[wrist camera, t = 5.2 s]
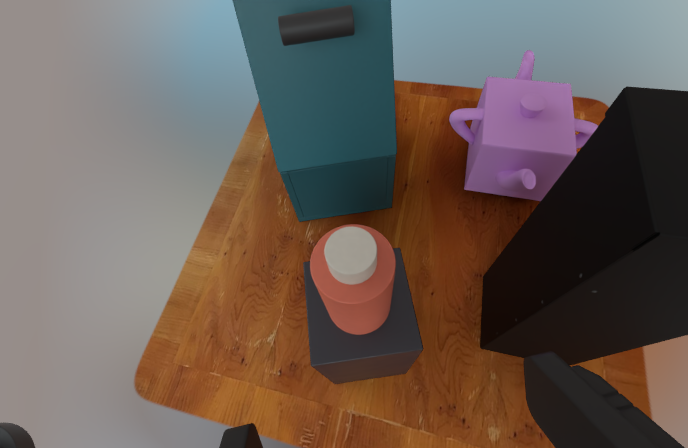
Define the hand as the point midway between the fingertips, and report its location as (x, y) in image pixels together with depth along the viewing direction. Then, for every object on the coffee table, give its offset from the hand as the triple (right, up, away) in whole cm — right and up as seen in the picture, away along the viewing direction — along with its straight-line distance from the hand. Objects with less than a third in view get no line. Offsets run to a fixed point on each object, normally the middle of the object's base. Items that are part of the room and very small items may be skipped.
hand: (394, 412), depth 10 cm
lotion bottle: (-1, 0, +13) cm, 13 cm away
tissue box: (+16, -4, +25) cm, 30 cm away
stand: (+1, -6, +25) cm, 26 cm away
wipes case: (-2, +12, +36) cm, 38 cm away
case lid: (-3, +18, +20) cm, 27 cm away
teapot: (+19, +13, +34) cm, 41 cm away
